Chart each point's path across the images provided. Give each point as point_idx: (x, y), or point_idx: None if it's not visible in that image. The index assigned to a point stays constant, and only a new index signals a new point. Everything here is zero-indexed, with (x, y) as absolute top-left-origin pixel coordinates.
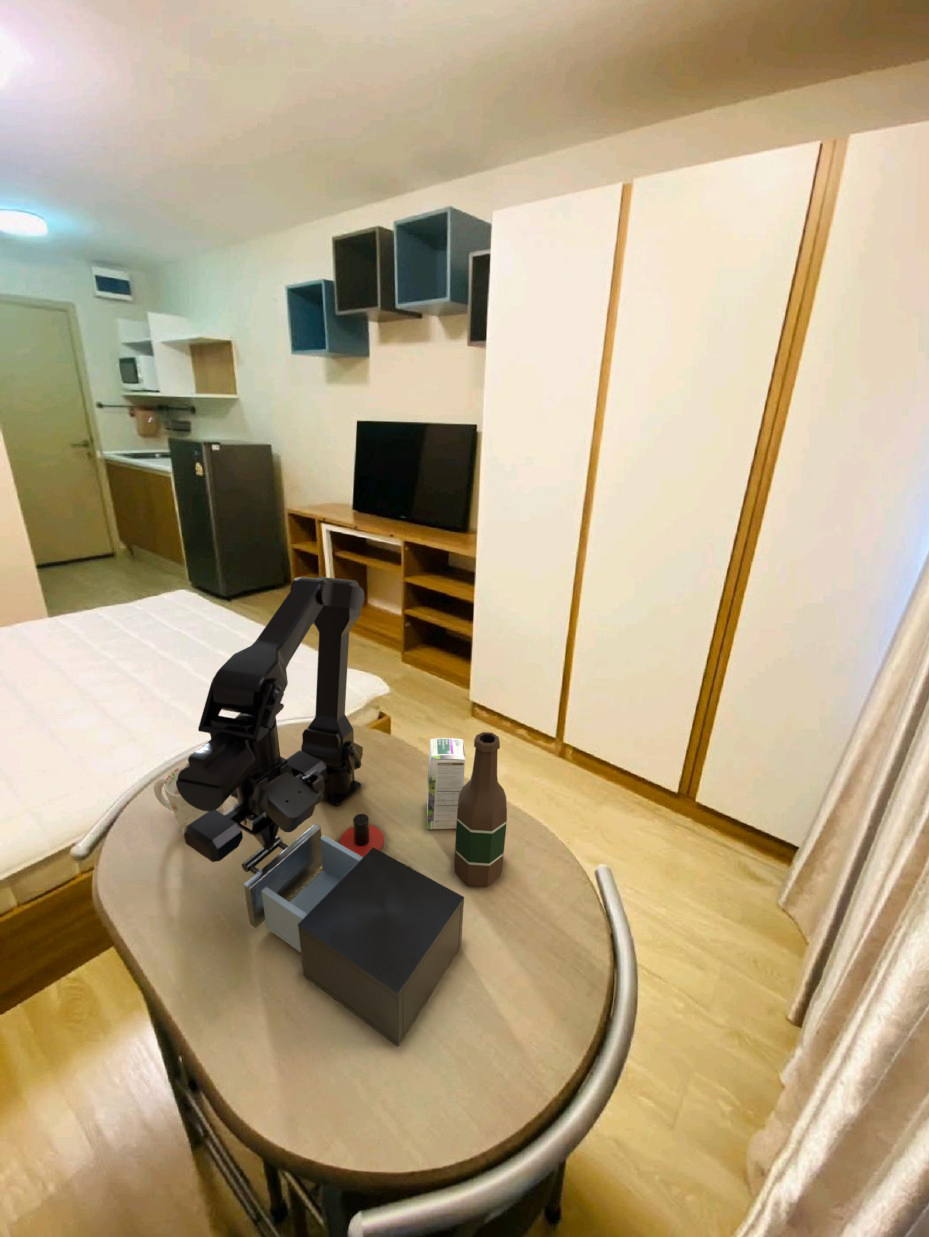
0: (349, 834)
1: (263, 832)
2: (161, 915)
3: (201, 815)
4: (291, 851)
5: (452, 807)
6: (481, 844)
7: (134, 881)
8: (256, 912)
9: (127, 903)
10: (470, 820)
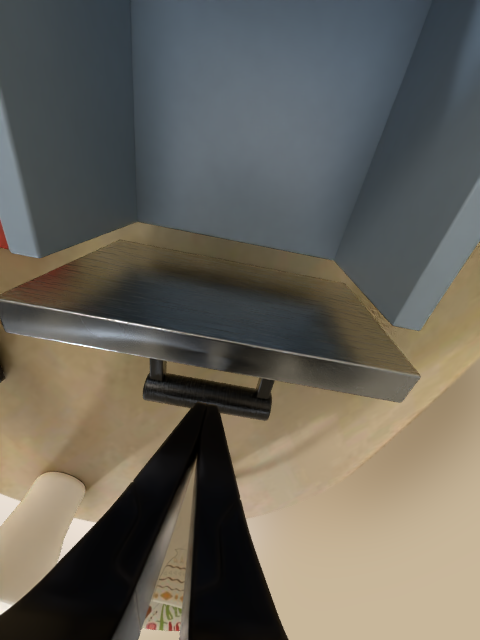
0: (1, 231)
1: (242, 574)
2: (339, 429)
3: (189, 516)
4: (185, 337)
5: None
6: None
7: (298, 478)
8: (352, 302)
9: (331, 467)
10: None
